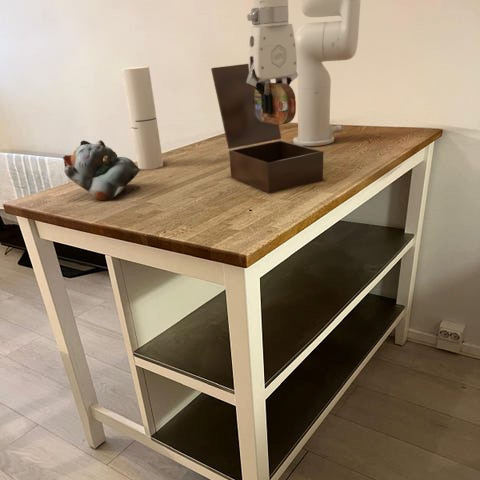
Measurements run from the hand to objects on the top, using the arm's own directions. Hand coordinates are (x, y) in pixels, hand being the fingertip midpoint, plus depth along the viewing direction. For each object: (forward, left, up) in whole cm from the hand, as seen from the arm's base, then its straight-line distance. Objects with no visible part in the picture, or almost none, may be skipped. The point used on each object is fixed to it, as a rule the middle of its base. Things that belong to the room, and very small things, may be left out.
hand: (273, 111), depth 111 cm
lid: (0, -11, +1) cm, 11 cm away
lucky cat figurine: (+37, -18, -15) cm, 44 cm away
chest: (0, 0, -15) cm, 15 cm away
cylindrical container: (+19, -36, -15) cm, 43 cm away
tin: (0, 0, -3) cm, 3 cm away
